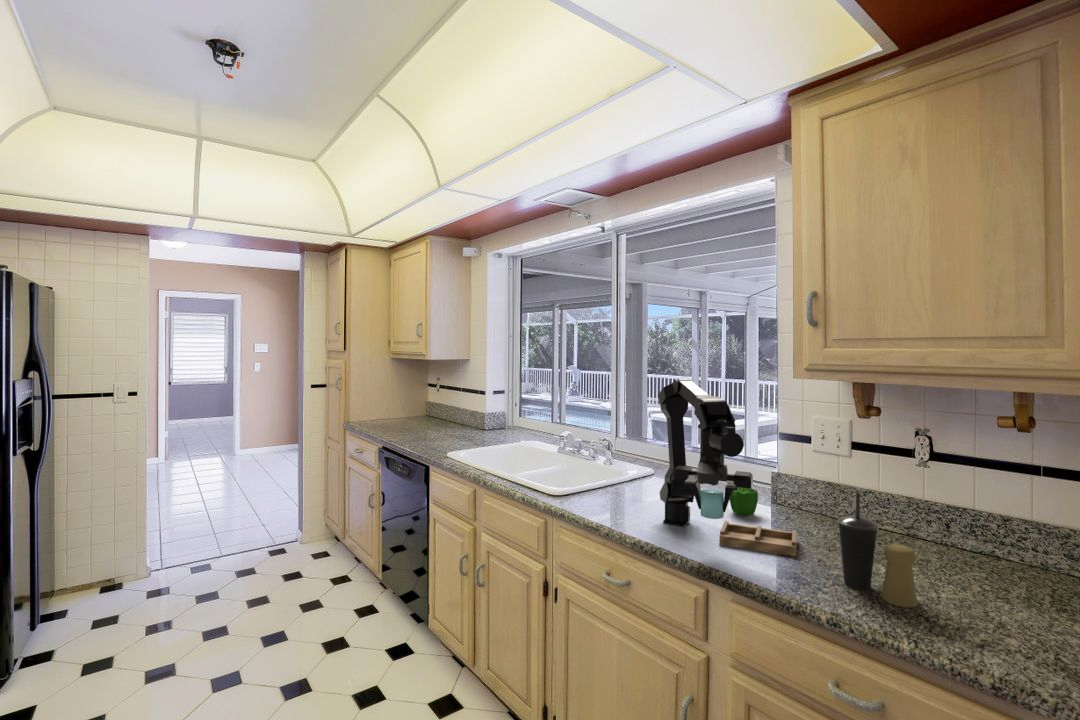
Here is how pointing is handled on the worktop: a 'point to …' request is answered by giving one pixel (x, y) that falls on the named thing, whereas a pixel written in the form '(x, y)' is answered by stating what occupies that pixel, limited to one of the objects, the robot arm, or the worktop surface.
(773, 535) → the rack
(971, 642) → the worktop surface
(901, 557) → the cork
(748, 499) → the bell pepper
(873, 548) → the drinking cup
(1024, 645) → the worktop surface
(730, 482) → the robot arm
